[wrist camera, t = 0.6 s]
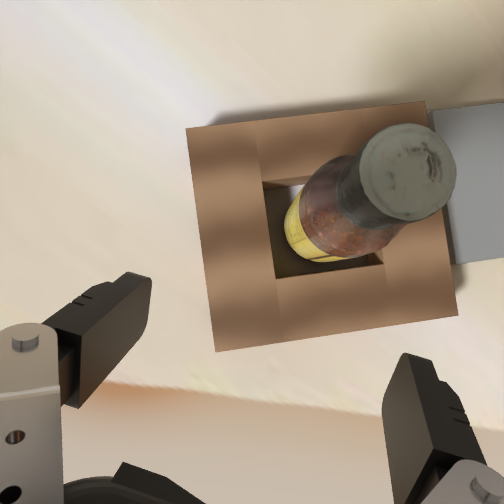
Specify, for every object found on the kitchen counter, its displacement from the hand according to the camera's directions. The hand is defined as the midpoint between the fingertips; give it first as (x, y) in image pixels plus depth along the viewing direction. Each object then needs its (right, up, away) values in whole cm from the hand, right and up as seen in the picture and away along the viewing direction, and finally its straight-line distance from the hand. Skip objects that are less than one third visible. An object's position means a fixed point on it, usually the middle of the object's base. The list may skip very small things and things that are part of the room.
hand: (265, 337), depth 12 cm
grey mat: (+23, +9, +24) cm, 35 cm away
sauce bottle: (+5, +5, +23) cm, 24 cm away
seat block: (+5, +5, +23) cm, 24 cm away
